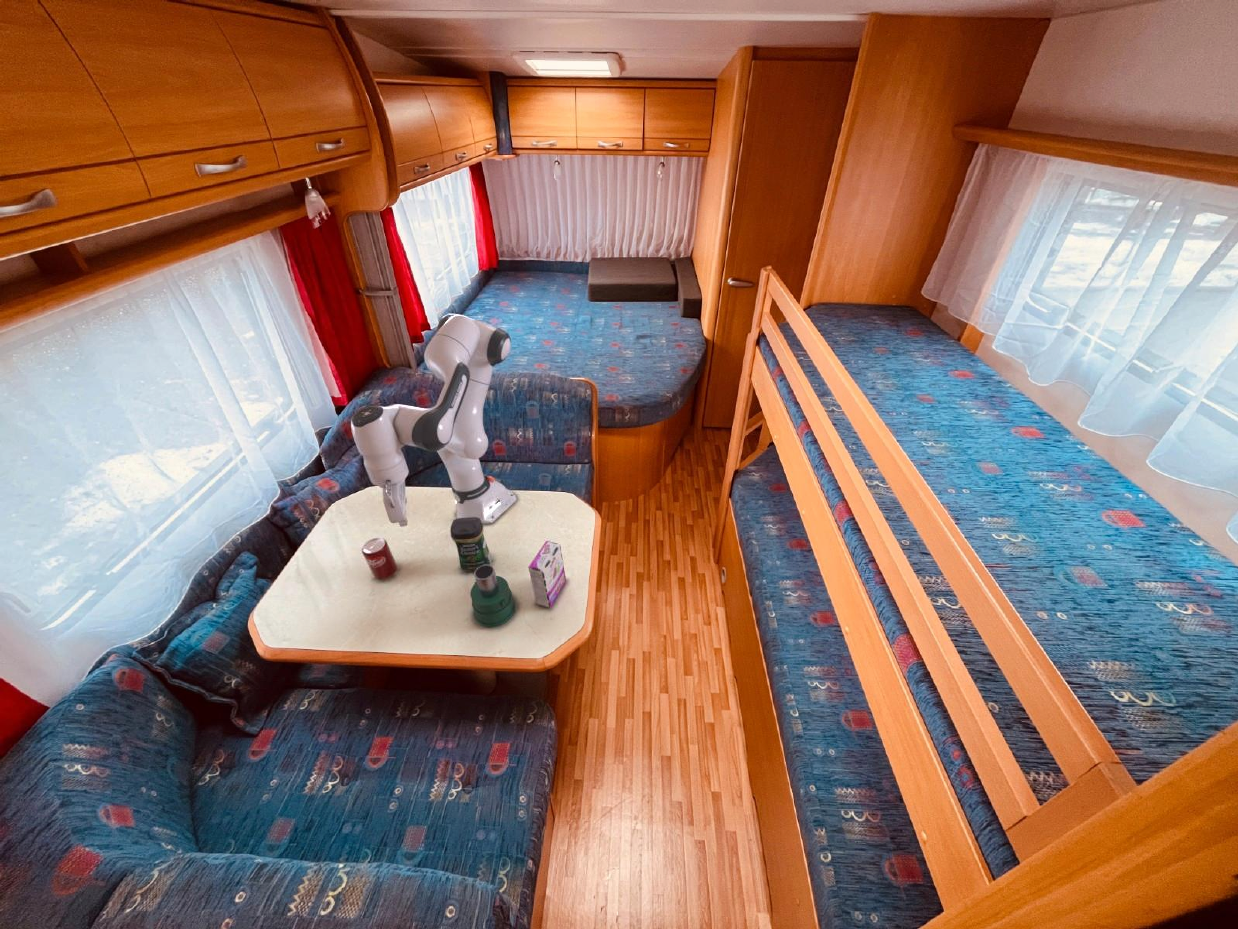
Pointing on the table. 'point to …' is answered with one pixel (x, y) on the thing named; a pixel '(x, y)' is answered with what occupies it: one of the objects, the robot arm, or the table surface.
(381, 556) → the soda can
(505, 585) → the bucket
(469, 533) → the coffee jar
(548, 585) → the candy bar box
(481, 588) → the steel cup
